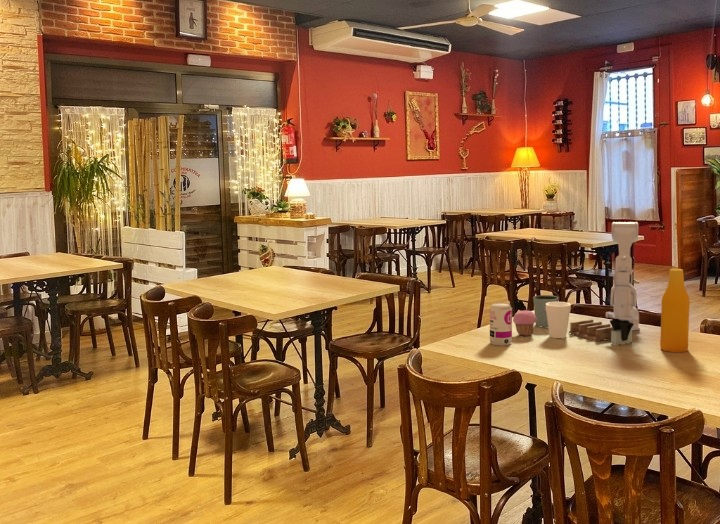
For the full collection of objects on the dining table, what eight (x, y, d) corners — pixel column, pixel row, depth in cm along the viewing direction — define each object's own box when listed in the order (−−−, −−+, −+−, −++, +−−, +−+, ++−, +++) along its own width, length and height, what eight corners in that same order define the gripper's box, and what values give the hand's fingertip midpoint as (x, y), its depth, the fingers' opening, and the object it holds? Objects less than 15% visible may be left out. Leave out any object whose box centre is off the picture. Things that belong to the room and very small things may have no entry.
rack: (592, 330, 291) (592, 319, 291) (620, 337, 278) (620, 326, 277) (568, 333, 286) (569, 322, 286) (596, 341, 273) (596, 330, 272)
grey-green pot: (560, 327, 297) (561, 299, 295) (536, 328, 297) (536, 299, 295) (554, 322, 307) (554, 294, 305) (530, 322, 307) (530, 295, 305)
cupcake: (539, 334, 286) (540, 309, 285) (529, 338, 280) (529, 313, 278) (519, 331, 292) (519, 307, 291) (509, 335, 286) (509, 310, 284)
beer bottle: (655, 350, 259) (658, 270, 255) (665, 344, 265) (668, 266, 261) (682, 354, 252) (685, 272, 248) (691, 348, 259) (694, 268, 255)
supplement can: (515, 342, 274) (516, 304, 272) (504, 347, 268) (504, 307, 266) (497, 339, 279) (497, 301, 277) (485, 344, 274) (485, 305, 271)
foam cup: (568, 333, 286) (568, 301, 284) (572, 339, 277) (572, 306, 275) (543, 334, 287) (543, 301, 285) (547, 339, 278) (547, 306, 276)
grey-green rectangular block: (626, 341, 272) (627, 328, 271) (631, 342, 270) (632, 329, 269) (611, 344, 269) (611, 330, 268) (615, 345, 267) (616, 332, 266)
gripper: (599, 301, 272) (599, 336, 274) (629, 308, 259) (628, 345, 261) (613, 299, 275) (613, 334, 277) (643, 306, 262) (642, 342, 264)
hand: (621, 339), depth 269 cm, fingers closed on grey-green rectangular block, 2 cm apart
